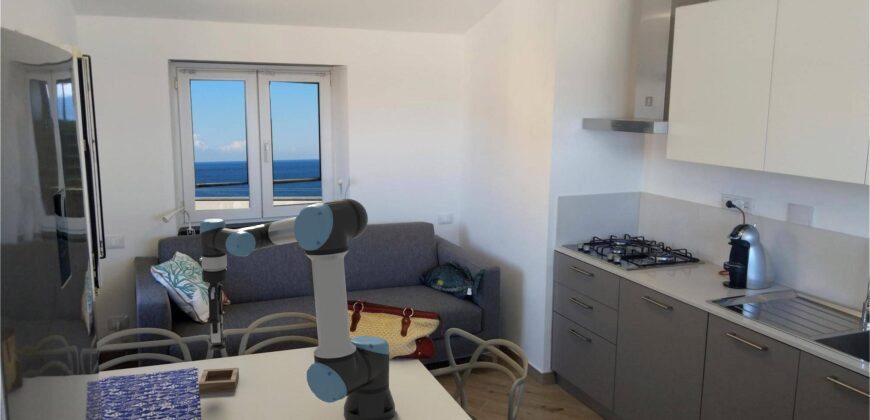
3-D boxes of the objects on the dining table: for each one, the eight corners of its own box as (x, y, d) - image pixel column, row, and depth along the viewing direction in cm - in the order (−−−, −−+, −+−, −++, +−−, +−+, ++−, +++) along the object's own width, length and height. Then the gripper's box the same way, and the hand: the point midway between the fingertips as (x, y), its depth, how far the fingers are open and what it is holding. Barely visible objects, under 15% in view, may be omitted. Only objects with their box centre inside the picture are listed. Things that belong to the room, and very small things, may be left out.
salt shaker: (221, 351, 208) (219, 314, 206) (204, 349, 209) (202, 313, 207) (230, 344, 213) (229, 308, 211) (214, 342, 215) (212, 307, 213)
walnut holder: (235, 391, 209) (235, 381, 208) (199, 393, 207) (198, 383, 206) (238, 376, 220) (238, 367, 219) (204, 379, 218) (203, 369, 217)
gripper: (206, 261, 215) (209, 329, 219) (196, 276, 197) (200, 350, 201) (230, 260, 217) (232, 327, 221) (223, 275, 198) (226, 348, 202)
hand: (217, 338), depth 211 cm, fingers closed on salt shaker, 6 cm apart
